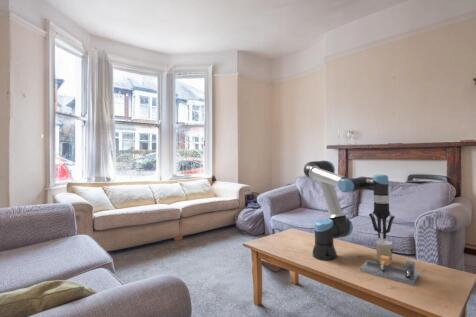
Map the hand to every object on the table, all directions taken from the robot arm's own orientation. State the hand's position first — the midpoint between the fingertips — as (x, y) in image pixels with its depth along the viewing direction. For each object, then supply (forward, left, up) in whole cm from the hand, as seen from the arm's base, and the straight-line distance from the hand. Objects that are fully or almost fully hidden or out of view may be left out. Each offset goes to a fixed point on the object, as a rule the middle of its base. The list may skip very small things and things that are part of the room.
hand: (382, 244), depth 149 cm
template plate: (+3, 0, -16) cm, 16 cm away
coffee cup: (-3, +15, -16) cm, 22 cm away
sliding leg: (0, 0, -13) cm, 13 cm away
